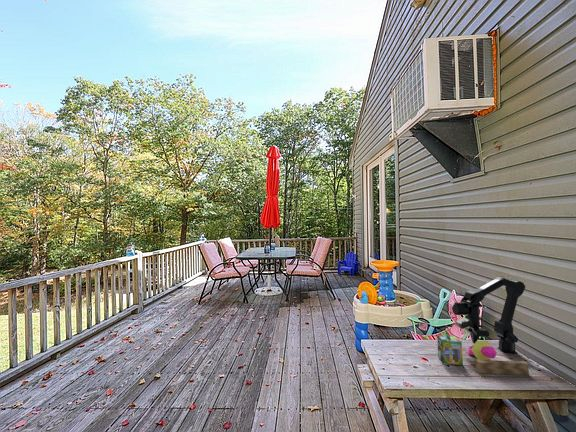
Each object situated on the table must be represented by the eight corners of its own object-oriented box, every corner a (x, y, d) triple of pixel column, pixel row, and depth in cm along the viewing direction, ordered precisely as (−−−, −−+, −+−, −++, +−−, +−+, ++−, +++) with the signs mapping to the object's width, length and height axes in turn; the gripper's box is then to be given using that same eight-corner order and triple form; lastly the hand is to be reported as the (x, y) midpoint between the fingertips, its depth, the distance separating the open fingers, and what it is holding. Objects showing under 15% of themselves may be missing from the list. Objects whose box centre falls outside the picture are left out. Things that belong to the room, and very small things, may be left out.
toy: (484, 353, 157) (473, 335, 160) (509, 358, 140) (495, 337, 143) (469, 362, 156) (458, 343, 159) (492, 368, 139) (479, 347, 142)
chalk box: (463, 365, 142) (462, 335, 143) (443, 364, 144) (442, 334, 145) (456, 357, 151) (455, 329, 152) (437, 356, 153) (436, 327, 154)
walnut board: (524, 372, 136) (524, 361, 136) (528, 374, 133) (528, 363, 133) (475, 370, 137) (475, 359, 138) (479, 373, 135) (478, 362, 135)
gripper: (450, 309, 169) (450, 336, 168) (466, 319, 150) (467, 350, 150) (470, 309, 168) (470, 337, 167) (489, 320, 149) (490, 350, 149)
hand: (474, 343), depth 158 cm, fingers closed
